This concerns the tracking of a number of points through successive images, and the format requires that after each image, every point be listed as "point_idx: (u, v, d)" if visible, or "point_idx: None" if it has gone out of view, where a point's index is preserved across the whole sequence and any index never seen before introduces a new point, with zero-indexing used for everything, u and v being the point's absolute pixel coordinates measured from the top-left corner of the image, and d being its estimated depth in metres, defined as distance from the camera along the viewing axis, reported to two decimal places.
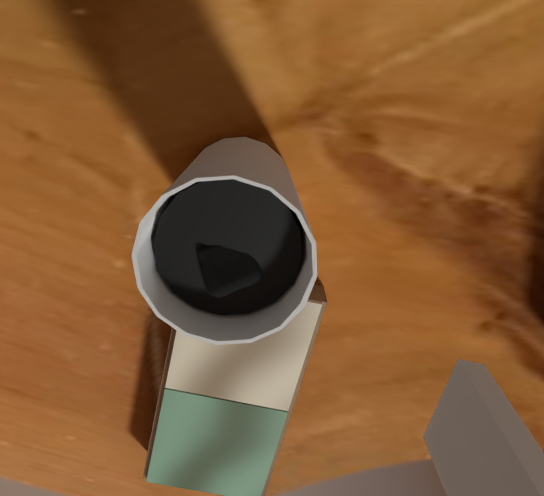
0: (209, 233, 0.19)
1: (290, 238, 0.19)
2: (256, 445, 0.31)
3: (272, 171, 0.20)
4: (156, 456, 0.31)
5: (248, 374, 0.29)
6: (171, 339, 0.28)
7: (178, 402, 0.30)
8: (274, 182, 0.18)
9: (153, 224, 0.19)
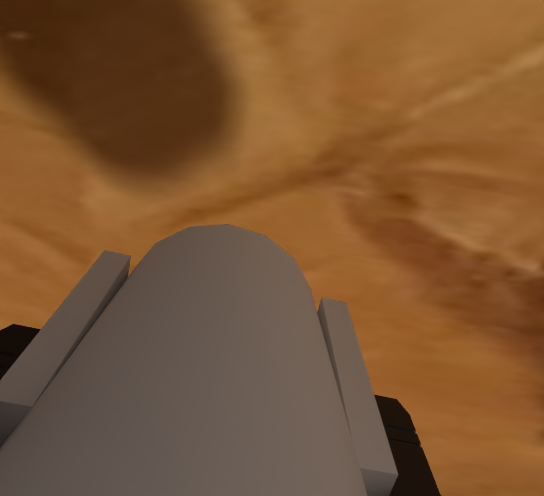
0: None
1: None
2: None
3: (279, 371, 0.08)
4: None
5: None
6: None
7: None
8: (287, 458, 0.06)
9: None
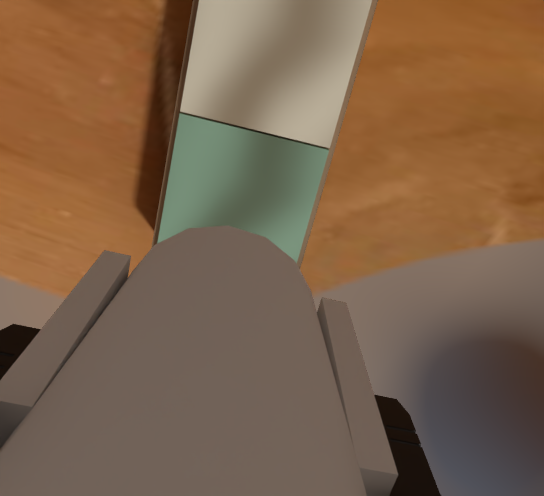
0: None
1: None
2: (289, 199, 0.26)
3: (279, 375, 0.08)
4: (168, 215, 0.26)
5: (282, 91, 0.24)
6: (188, 41, 0.23)
7: (196, 134, 0.24)
8: (287, 464, 0.06)
9: None
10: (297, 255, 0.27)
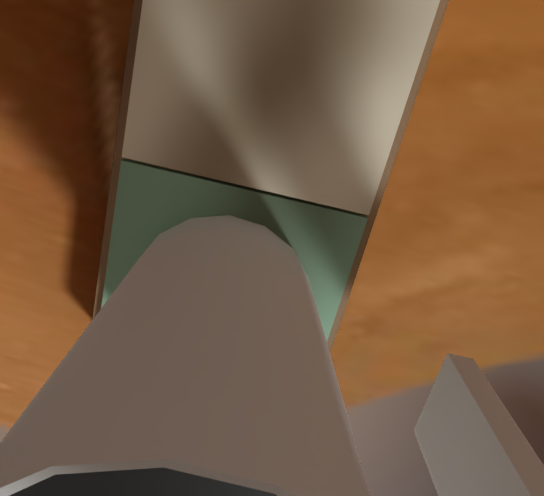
0: None
1: None
2: None
3: (278, 346, 0.09)
4: None
5: (292, 125, 0.14)
6: (132, 40, 0.14)
7: (150, 194, 0.15)
8: (285, 419, 0.07)
9: None
10: None
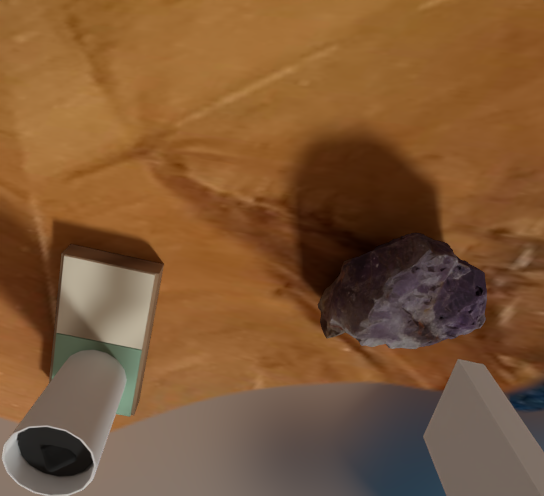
0: (46, 440, 0.37)
1: None
2: None
3: (83, 402, 0.38)
4: None
5: (111, 323, 0.43)
6: (58, 299, 0.43)
7: (66, 343, 0.44)
8: (74, 419, 0.36)
9: (17, 434, 0.37)
10: (131, 402, 0.46)
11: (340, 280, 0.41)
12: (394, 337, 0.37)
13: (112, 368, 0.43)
